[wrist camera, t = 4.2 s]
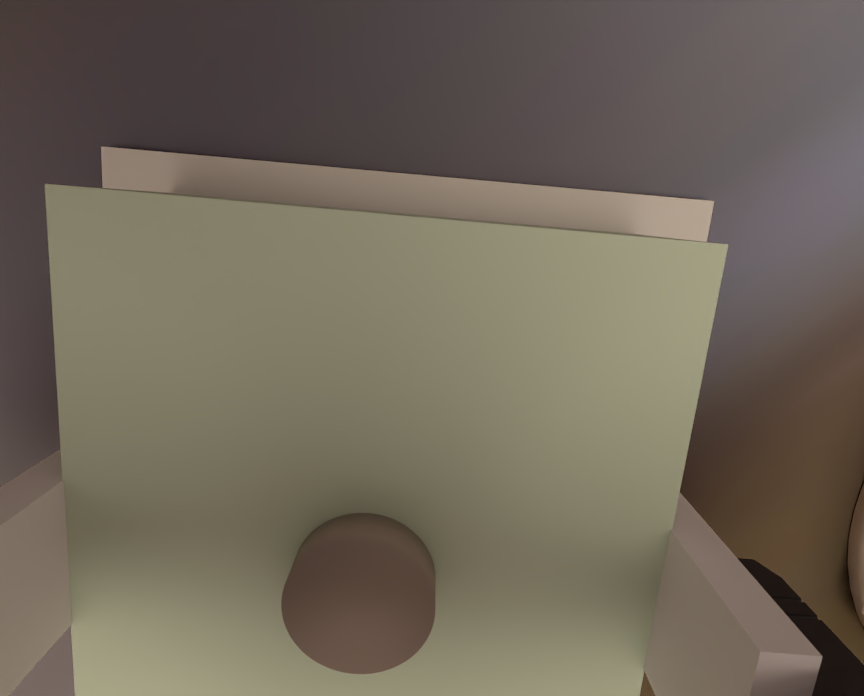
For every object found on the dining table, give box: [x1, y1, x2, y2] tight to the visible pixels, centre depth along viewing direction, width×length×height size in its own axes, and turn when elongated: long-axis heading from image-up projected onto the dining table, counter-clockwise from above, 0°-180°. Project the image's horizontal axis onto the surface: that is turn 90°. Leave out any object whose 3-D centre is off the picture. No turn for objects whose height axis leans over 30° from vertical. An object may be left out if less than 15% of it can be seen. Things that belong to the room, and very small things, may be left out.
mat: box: [101, 146, 714, 242], centre depth 14 cm, size 14×13×1 cm
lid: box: [45, 184, 728, 696], centre depth 12 cm, size 12×10×5 cm
